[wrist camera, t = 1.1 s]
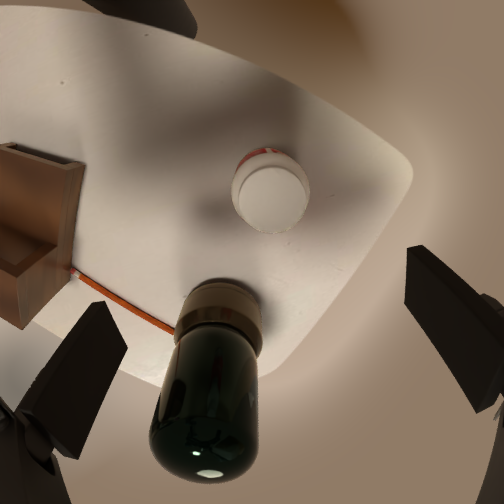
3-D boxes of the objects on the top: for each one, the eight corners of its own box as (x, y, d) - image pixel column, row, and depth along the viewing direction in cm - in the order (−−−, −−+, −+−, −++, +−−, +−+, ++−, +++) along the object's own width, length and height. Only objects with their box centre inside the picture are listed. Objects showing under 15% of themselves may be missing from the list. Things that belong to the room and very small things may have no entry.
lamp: (170, 293, 36) (106, 449, 15) (240, 264, 34) (226, 438, 14) (207, 349, 39) (182, 499, 19) (273, 326, 37) (286, 489, 17)
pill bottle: (234, 204, 31) (225, 242, 21) (237, 146, 29) (227, 154, 19) (293, 207, 31) (312, 246, 21) (298, 149, 29) (322, 160, 19)
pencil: (73, 266, 34) (70, 269, 34) (187, 335, 38) (186, 338, 38) (72, 271, 35) (69, 273, 34) (184, 338, 38) (183, 342, 38)
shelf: (10, 142, 27) (-55, 157, 16) (85, 164, 29) (18, 187, 18) (3, 246, 33) (-48, 282, 22) (70, 280, 35) (22, 330, 24)
